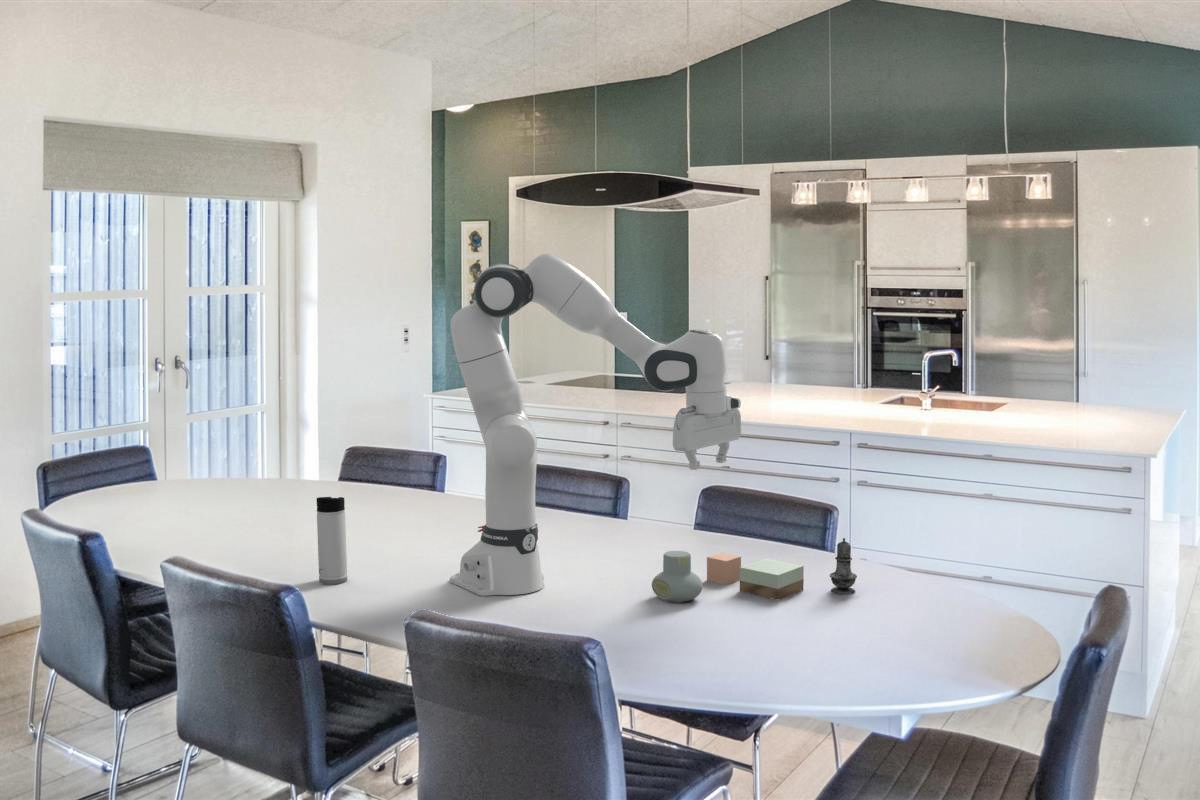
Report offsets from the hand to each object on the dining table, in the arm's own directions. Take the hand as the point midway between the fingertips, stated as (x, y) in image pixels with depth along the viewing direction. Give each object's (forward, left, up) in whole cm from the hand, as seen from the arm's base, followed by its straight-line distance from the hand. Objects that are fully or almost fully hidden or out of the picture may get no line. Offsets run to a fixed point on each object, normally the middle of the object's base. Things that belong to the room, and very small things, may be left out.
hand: (708, 465), depth 255 cm
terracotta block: (0, +6, -27) cm, 28 cm away
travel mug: (-66, -54, -28) cm, 90 cm away
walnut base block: (+13, +7, -28) cm, 31 cm away
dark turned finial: (+25, +16, -28) cm, 40 cm away
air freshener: (+1, -12, -28) cm, 30 cm away
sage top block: (+13, +6, -25) cm, 29 cm away
